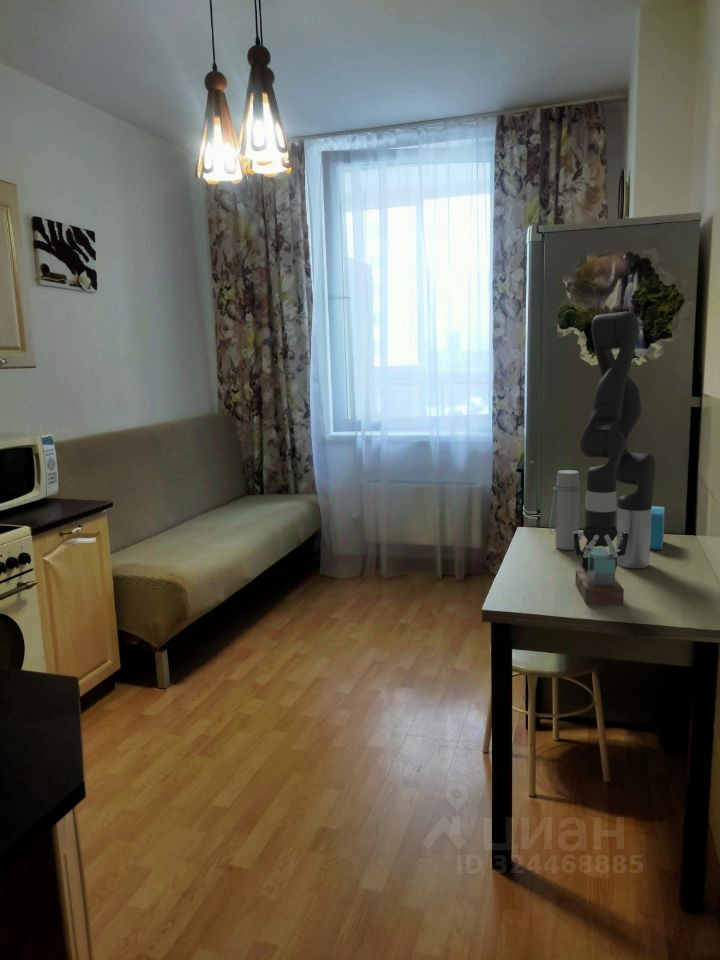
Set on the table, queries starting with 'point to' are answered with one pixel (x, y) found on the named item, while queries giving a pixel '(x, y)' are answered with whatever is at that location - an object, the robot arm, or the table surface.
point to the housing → (601, 568)
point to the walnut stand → (598, 592)
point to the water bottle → (566, 508)
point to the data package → (657, 527)
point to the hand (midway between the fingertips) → (598, 570)
